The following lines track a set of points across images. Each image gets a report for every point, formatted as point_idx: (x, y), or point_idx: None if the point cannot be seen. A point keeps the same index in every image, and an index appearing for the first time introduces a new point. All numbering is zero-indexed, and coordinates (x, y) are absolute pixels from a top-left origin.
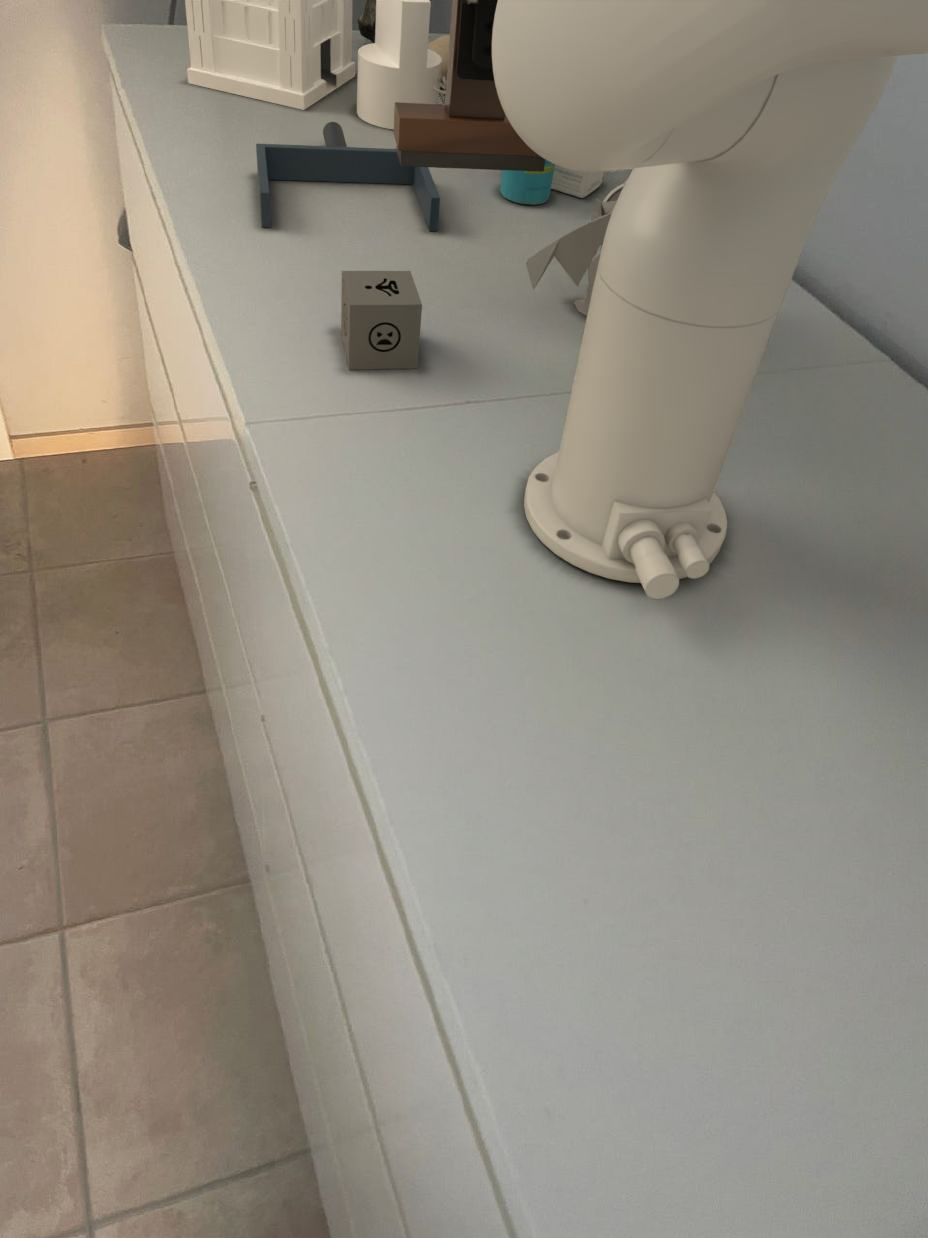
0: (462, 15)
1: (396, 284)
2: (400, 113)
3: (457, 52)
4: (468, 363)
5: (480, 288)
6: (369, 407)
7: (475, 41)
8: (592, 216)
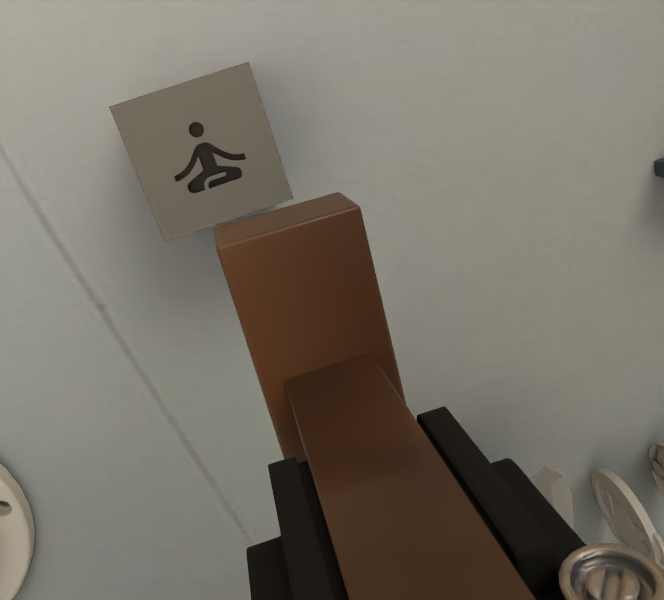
0: (296, 595)
1: (229, 181)
2: (256, 242)
3: (295, 493)
4: (217, 291)
5: (463, 276)
6: (23, 159)
7: (251, 595)
8: (546, 487)
